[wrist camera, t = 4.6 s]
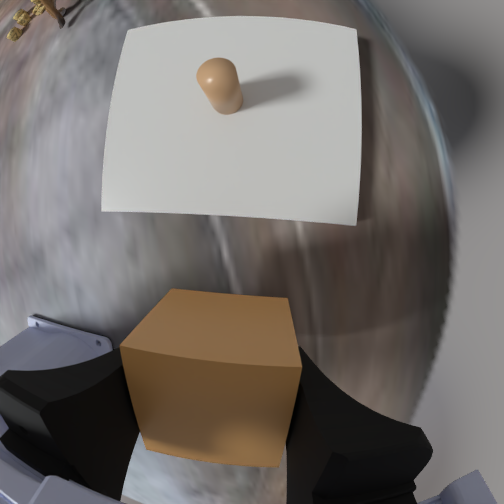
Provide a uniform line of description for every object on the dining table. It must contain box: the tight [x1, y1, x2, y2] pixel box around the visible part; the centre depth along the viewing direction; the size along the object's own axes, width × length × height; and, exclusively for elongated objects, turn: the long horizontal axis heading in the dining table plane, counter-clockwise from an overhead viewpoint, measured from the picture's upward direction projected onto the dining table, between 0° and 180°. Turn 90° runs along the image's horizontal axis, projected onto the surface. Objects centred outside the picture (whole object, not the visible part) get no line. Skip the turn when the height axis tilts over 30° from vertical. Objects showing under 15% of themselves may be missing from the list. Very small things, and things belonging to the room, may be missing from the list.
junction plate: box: [102, 16, 362, 226], centre depth 11 cm, size 14×12×5 cm
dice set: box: [7, 0, 46, 42], centre depth 11 cm, size 5×5×2 cm
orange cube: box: [119, 288, 302, 467], centre depth 10 cm, size 5×5×5 cm
